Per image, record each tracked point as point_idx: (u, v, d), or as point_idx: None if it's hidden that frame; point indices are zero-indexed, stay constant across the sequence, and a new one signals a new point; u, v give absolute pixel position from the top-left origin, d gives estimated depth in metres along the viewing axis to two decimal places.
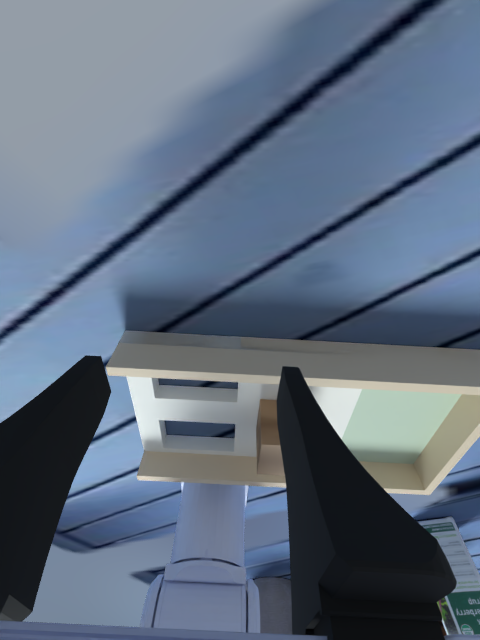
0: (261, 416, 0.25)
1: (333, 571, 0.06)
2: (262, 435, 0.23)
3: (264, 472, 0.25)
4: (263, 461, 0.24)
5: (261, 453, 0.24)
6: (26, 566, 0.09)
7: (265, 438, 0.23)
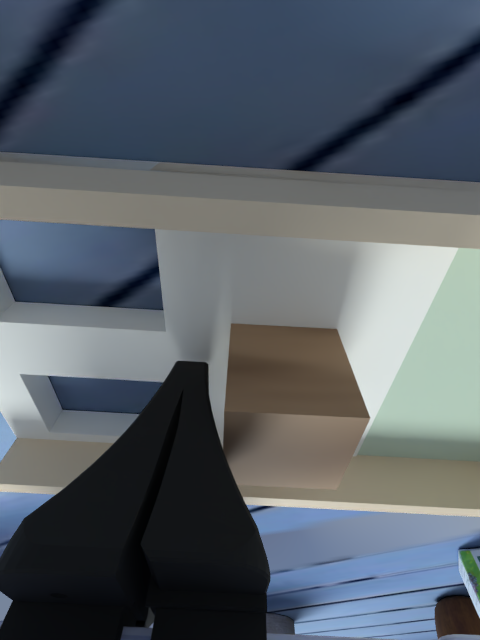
0: (230, 353, 0.11)
1: (148, 562, 0.06)
2: (228, 391, 0.10)
3: (237, 480, 0.11)
4: (234, 455, 0.10)
5: (226, 435, 0.10)
6: None
7: (235, 396, 0.09)
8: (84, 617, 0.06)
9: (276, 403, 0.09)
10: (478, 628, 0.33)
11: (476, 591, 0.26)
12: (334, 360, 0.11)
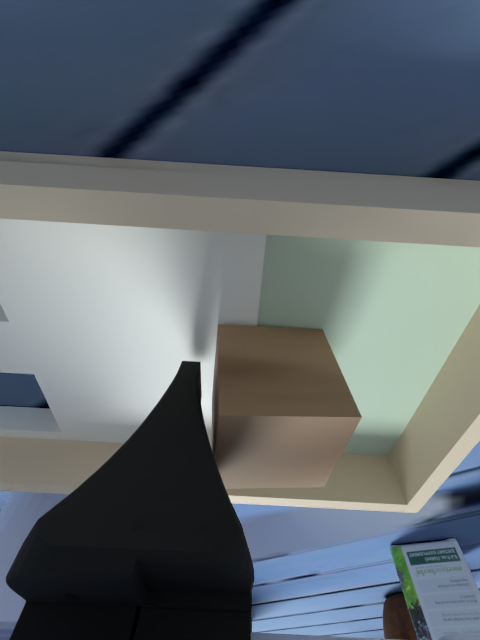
0: (220, 355, 0.11)
1: None
2: (221, 394, 0.09)
3: (227, 484, 0.11)
4: (226, 459, 0.10)
5: (219, 439, 0.09)
6: None
7: (229, 400, 0.09)
8: (98, 618, 0.06)
9: (270, 405, 0.09)
10: None
11: (402, 587, 0.26)
12: (323, 360, 0.11)
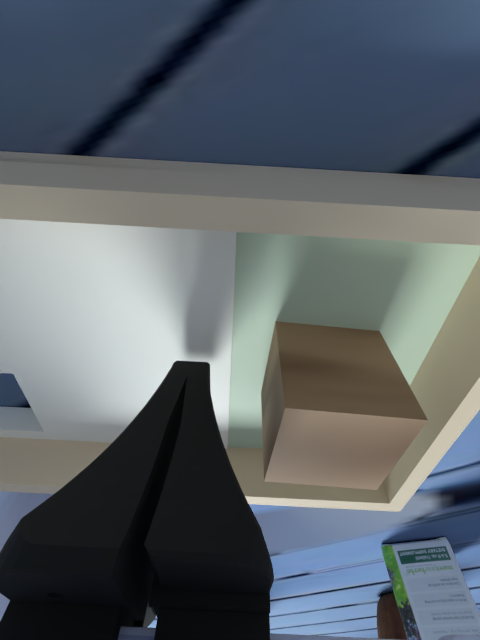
0: (280, 351, 0.11)
1: (152, 562, 0.06)
2: (285, 388, 0.10)
3: (280, 477, 0.11)
4: (284, 452, 0.10)
5: (281, 432, 0.10)
6: None
7: (293, 393, 0.09)
8: (81, 617, 0.06)
9: (333, 401, 0.09)
10: None
11: (392, 586, 0.26)
12: (383, 362, 0.11)
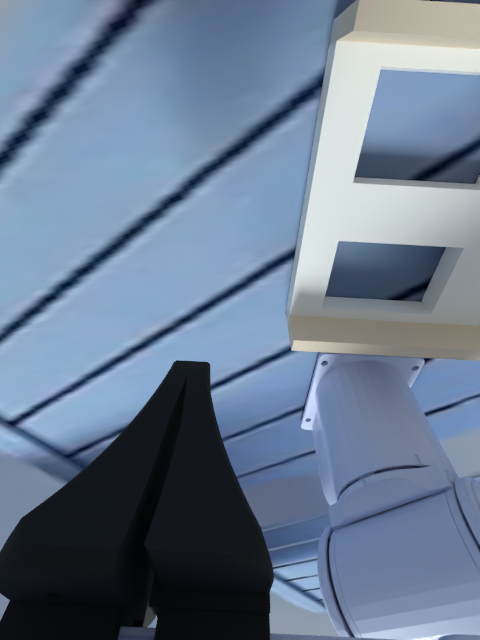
0: None
1: (152, 562, 0.06)
2: None
3: None
4: None
5: None
6: None
7: None
8: (81, 617, 0.06)
9: None
10: None
11: None
12: None
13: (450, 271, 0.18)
